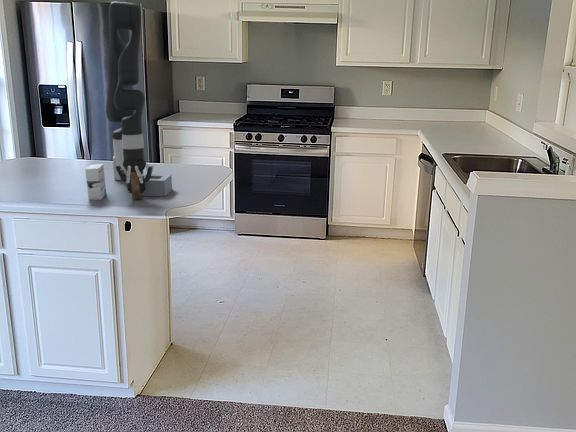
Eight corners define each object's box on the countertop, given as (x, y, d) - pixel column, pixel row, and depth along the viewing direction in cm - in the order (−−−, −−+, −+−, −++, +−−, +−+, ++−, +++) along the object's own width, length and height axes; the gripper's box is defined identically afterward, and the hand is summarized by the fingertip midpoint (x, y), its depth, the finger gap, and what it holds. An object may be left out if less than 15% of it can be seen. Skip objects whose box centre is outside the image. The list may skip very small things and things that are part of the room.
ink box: (93, 194, 216) (90, 163, 212) (106, 193, 216) (104, 163, 212) (87, 200, 207) (84, 168, 204) (101, 199, 208) (98, 168, 204)
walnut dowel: (130, 199, 207) (128, 172, 204) (134, 196, 211) (131, 170, 208) (140, 199, 207) (138, 172, 204) (143, 196, 210) (141, 170, 207)
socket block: (139, 195, 214) (138, 180, 212) (147, 188, 223) (146, 174, 221) (165, 196, 213) (164, 180, 211) (172, 189, 222) (171, 174, 221)
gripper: (110, 147, 200) (114, 194, 205) (149, 148, 199) (152, 195, 204) (117, 144, 207) (121, 189, 212) (155, 144, 206) (158, 190, 211)
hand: (136, 192), depth 208 cm, fingers closed on walnut dowel, 3 cm apart
